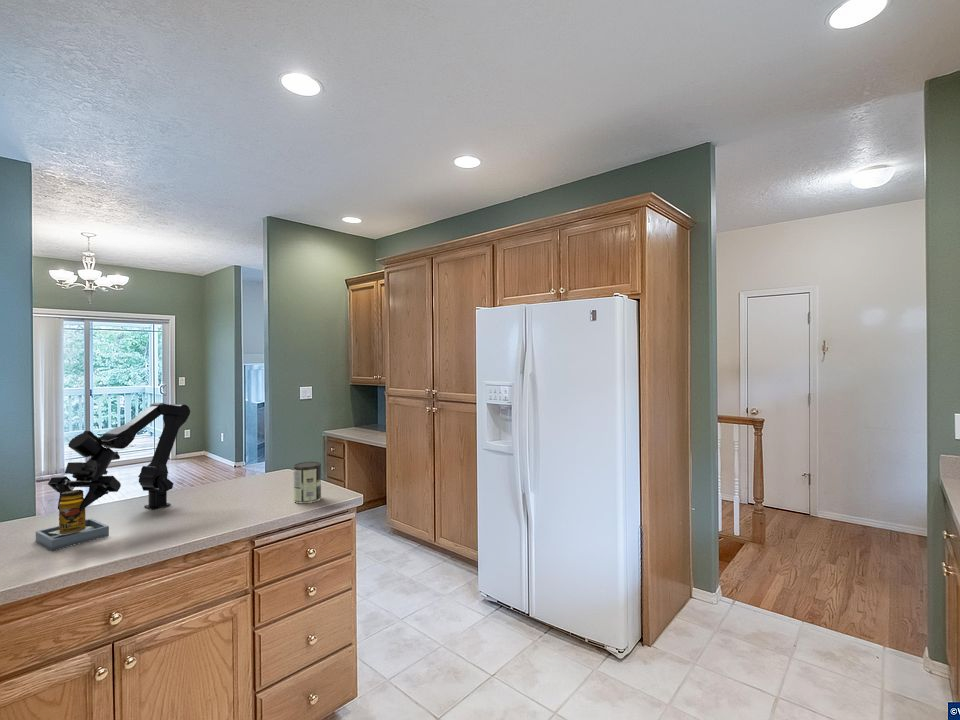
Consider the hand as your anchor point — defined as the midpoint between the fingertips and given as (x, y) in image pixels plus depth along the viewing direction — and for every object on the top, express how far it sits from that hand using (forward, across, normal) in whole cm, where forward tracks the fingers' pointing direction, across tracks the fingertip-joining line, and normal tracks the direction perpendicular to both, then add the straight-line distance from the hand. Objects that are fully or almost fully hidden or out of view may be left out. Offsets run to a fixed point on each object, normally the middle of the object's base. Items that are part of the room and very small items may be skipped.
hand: (69, 509), depth 141 cm
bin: (+6, 0, +7) cm, 9 cm away
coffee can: (-19, +60, +34) cm, 71 cm away
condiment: (+4, 0, +6) cm, 7 cm away
